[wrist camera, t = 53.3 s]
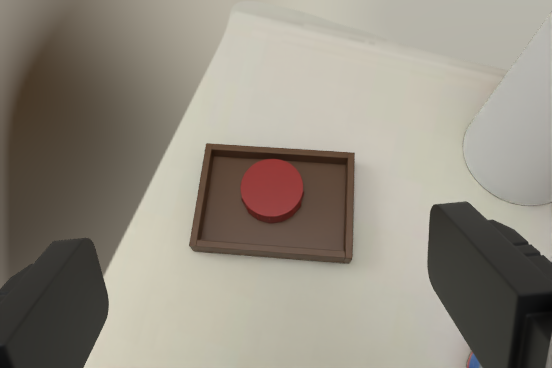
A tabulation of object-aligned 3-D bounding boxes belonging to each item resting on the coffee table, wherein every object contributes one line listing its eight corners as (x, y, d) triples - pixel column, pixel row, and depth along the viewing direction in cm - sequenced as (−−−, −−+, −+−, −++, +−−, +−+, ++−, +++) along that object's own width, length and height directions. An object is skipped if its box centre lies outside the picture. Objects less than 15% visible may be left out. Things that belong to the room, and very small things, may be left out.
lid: (309, 175, 42) (310, 166, 40) (293, 230, 40) (294, 224, 38) (252, 160, 43) (251, 151, 41) (234, 214, 41) (231, 207, 39)
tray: (193, 251, 40) (189, 245, 38) (209, 152, 44) (206, 143, 42) (349, 263, 39) (352, 258, 37) (352, 161, 43) (354, 152, 41)
